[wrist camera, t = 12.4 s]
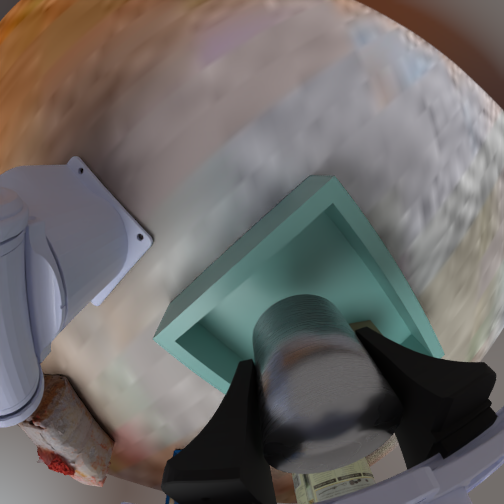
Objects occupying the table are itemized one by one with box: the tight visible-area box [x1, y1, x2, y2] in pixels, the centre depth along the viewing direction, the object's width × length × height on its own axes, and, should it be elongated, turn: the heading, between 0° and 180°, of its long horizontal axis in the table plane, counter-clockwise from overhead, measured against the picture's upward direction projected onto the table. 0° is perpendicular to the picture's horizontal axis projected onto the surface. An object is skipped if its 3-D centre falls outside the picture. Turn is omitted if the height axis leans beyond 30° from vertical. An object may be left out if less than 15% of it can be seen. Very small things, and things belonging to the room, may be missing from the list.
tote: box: [153, 175, 445, 395], centre depth 19 cm, size 18×14×5 cm
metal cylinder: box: [252, 294, 403, 474], centre depth 10 cm, size 5×5×7 cm
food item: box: [18, 375, 114, 487], centre depth 19 cm, size 14×8×10 cm, turn 10°
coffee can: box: [292, 457, 376, 504], centre depth 21 cm, size 10×10×14 cm
